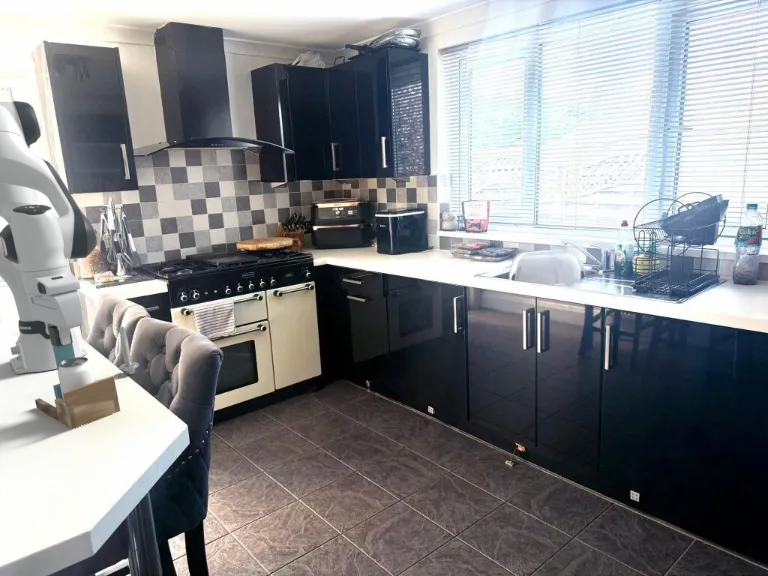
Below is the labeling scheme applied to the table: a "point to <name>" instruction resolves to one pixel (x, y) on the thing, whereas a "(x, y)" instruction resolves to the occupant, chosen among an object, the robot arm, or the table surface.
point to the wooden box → (84, 403)
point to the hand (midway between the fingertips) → (61, 342)
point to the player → (60, 353)
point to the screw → (126, 354)
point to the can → (74, 373)
